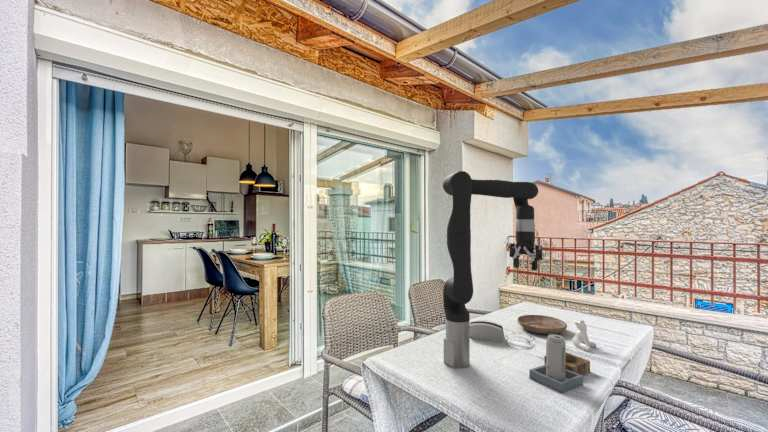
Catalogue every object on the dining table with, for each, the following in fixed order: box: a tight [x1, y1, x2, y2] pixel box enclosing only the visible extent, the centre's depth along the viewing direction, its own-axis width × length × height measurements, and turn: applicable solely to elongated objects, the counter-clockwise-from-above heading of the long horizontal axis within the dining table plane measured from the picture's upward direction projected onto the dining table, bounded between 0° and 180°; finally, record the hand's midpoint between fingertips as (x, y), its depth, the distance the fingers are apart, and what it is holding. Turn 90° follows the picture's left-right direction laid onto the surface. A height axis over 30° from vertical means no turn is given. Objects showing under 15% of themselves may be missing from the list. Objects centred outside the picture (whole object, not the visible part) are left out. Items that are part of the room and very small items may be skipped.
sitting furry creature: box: [571, 319, 597, 353], centre depth 149 cm, size 10×9×12 cm
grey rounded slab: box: [470, 319, 506, 343], centre depth 158 cm, size 17×5×10 cm, turn 65°
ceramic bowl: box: [516, 314, 568, 335], centre depth 172 cm, size 23×24×5 cm
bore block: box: [544, 352, 591, 376], centre depth 126 cm, size 12×12×4 cm
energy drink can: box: [545, 334, 567, 382], centre depth 116 cm, size 6×6×15 cm
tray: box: [528, 364, 584, 394], centre depth 116 cm, size 12×12×3 cm
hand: (525, 269), depth 139 cm, fingers open, 8 cm apart
